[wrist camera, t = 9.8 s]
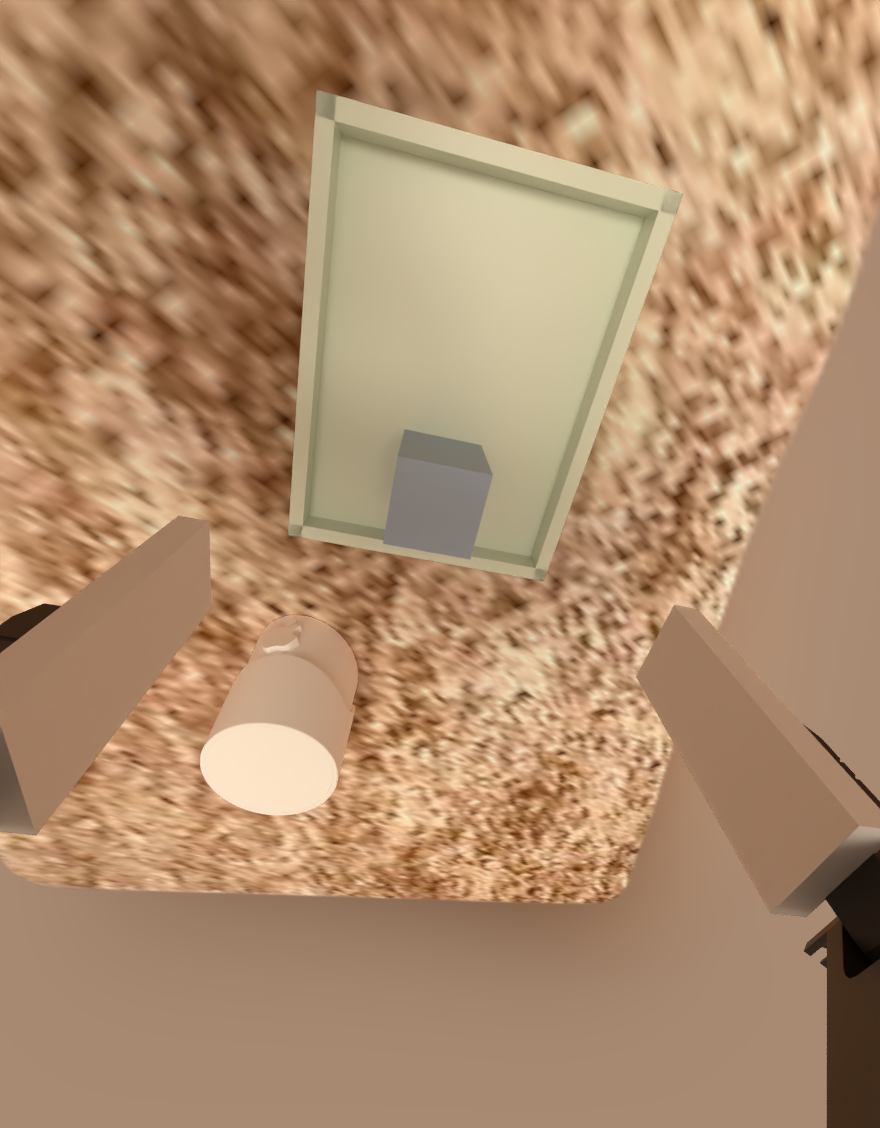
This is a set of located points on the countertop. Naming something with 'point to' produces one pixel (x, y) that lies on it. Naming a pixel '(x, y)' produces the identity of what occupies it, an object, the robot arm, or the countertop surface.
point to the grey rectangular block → (437, 495)
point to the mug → (284, 720)
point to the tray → (460, 322)
